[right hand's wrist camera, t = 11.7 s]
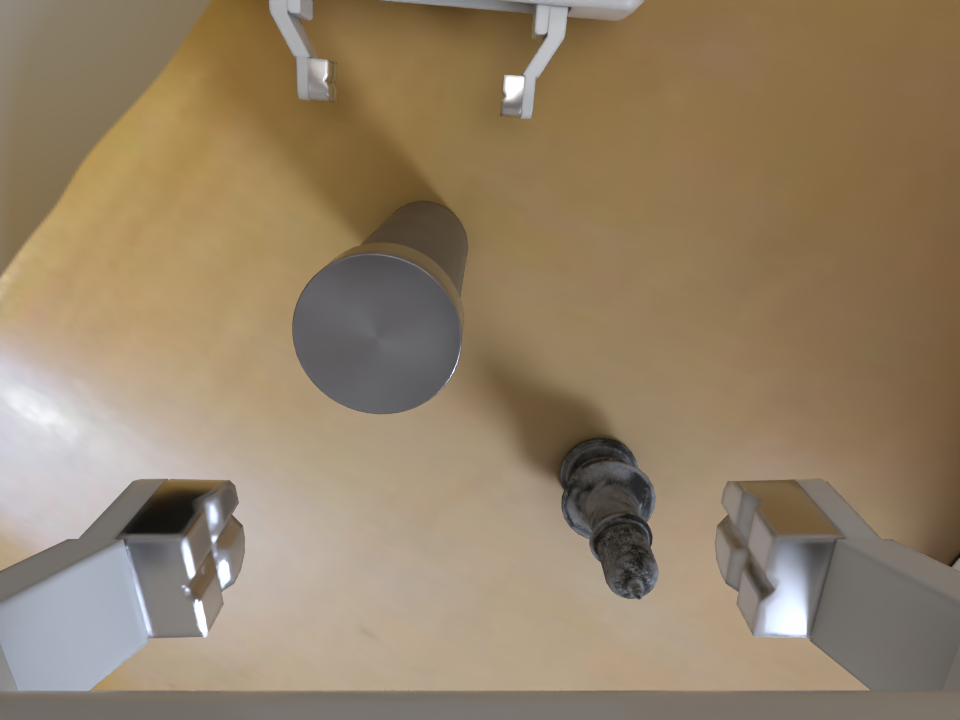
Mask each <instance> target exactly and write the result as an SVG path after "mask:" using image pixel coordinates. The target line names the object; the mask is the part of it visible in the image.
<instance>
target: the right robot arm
mask: <svg viewBox="0 0 960 720" xmlns="http://www.w3.org/2000/svg"><path fill="white" fill-rule="evenodd" d="M238 503H239V502H238V497H237V492H236V488H235V485H234V484H233V483H232V482H231V481H230V480H188V479H170V480H168V479H140V480H136V481H133V482H132V483H131V484H130V485H129V486H128V487H127V488H126V489H125V490H124V491H123V492H122V493H121V494H120V495H119V496H118V498H117V499H116V500H115V501H114V502H113V503H112V504H111V505H110V506H109V507H108V508H107V509H106V510H105V511H104V512H103V513H102V514H101V516H100V517H99V518H98V519H97V520H96V521H95V522H94V523H93V524H92V525H91V526H90V527H89V528H88V529H87V530H86V531H85V532H84V533H83V535H82V536H81V537H80V538H79V539H67V540H65V541H63V542H61V543H59V544H57V545H55V546H53V547H50V548H48V549H46V550H44V551H42V552H40V553H38V554H36V555H33V556H31V557H29V558H27V559H25V560H23V561H21V562H19V563H16V564H14V565H12V566H10V567H8V568H6V569H4V570H2V571H0V720H960V558H959V559H958V560H957V561H956V562H955V564H954V565H953V566H952V567H950V566H948V565H946V564H943V563H941V562H939V561H937V560H935V559H933V558H931V557H929V556H926V555H924V554H922V553H920V552H918V551H916V550H914V549H912V548H909V547H907V546H905V545H903V544H901V543H899V542H897V541H895V540H893V539H881V538H880V537H879V536H878V535H877V533H876V532H875V531H874V530H873V529H872V528H871V527H870V526H869V525H868V524H867V523H866V522H865V521H864V520H863V519H862V518H861V517H860V515H859V514H858V513H857V512H856V511H855V510H854V509H853V508H852V507H851V506H850V505H849V504H848V503H847V502H846V501H845V500H844V498H843V497H842V496H841V495H840V494H839V493H838V492H837V491H836V490H835V489H834V488H833V487H832V486H831V485H830V484H829V483H828V482H827V481H824V480H822V479H793V480H766V481H728V482H727V484H726V486H725V488H724V491H723V496H722V501H721V503H722V505H723V507H724V508H725V510H726V512H727V513H728V515H727V516H726V517H725V518H724V519H723V520H722V521H721V522H720V523H719V524H718V525H717V531H716V539H715V549H716V560H717V563H718V567H719V570H720V573H721V575H722V577H723V579H724V581H725V583H726V584H728V585H729V586H730V587H732V588H733V589H735V590H736V591H738V592H739V593H738V598H737V606H738V608H739V610H740V612H741V613H742V615H743V617H744V619H745V621H746V623H747V625H748V627H749V629H750V630H751V632H752V634H753V636H754V637H783V638H811V639H810V641H811V642H812V643H813V644H815V645H816V646H817V647H818V648H820V649H821V650H822V651H823V652H824V653H826V654H827V655H828V656H829V657H831V658H832V659H833V660H834V661H836V662H837V663H838V664H839V665H840V666H842V667H843V668H844V669H845V670H847V671H848V672H849V673H850V674H852V675H853V676H854V677H855V678H857V679H858V680H859V681H860V682H861V683H863V684H864V685H865V686H866V687H868V688H869V689H870V690H871V691H89V690H90V689H91V688H93V687H94V686H95V685H96V684H97V683H99V682H100V681H101V680H102V679H104V678H105V677H106V676H107V675H109V674H110V673H111V672H112V671H114V670H115V669H116V668H117V667H118V666H120V665H121V664H122V663H123V662H125V661H126V660H127V659H128V658H130V657H131V656H132V655H133V654H135V653H136V652H137V651H138V650H139V649H141V648H142V647H143V646H144V645H146V644H147V643H148V642H149V641H150V639H149V638H176V637H206V636H207V634H208V632H209V631H210V629H211V627H212V625H213V623H214V621H215V619H216V617H217V615H218V613H219V612H220V610H221V608H222V606H223V598H222V593H221V592H222V591H224V590H225V589H227V588H228V587H229V586H231V585H232V584H234V583H235V581H236V579H237V577H238V575H239V572H240V570H241V567H242V562H243V557H244V553H245V537H244V531H243V525H242V524H241V523H240V522H239V521H238V520H237V519H236V518H235V517H234V516H233V515H232V513H233V512H234V510H235V508H236V507H237V505H238Z"/></svg>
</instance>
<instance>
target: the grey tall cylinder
mask: <svg viewBox="0 0 960 720" xmlns="http://www.w3.org/2000/svg"><path fill="white" fill-rule="evenodd" d="M381 242H385V243H395V244H400V245H404V246H407V247H410V248H412V249H415V250H417V251H419V252H421V253H423V254H425V255H426V256H428V257H429V258H431V259H432V260H433V261H435V262H436V263H437V264H438V265H439V266H440V267H441V268H442V269H443V270H444V271H445V272H446V274H447V275H448V276H449V278H450V279H451V281H452V282H453V284H454V285H455V288H456V290H457V292H458V294H459V297H460V296H461V289H462V282H463V276H464V269H465V262H466V256H467V237H466V233H465V230H464V228H463V225H462V224H461V222H460V220H459V219H458V218H457V217H456V215H455V214H453V213H452V212H451V211H450V210H449V209H447V208H446V207H444V206H442V205H439V204H437V203H433V202H427V201H419V202H413V203H410V204H407V205H405V206H403V207H401V208H400V209H398V210H397V211H396V212H395V213H394V214H393V215H392V216H391V217H389V218H388V219H387V220H386V221H385V222H384V223H383V224H382V225H381V226H380V227H379V228H378V229H377V230H376V231H375V232H374V233H373V234H371V235H370V236H369V237H368V238H367V239H366V240H365V241H364V242H363V243H362V244H361V245H363V244H369V243H381Z"/></svg>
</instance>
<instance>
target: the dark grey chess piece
mask: <svg viewBox="0 0 960 720" xmlns="http://www.w3.org/2000/svg"><path fill="white" fill-rule="evenodd" d="M560 480H561V483H562V487H563V489H564V493H563V495H562V511H563V514H564V518H565V520H566V521H567V523H568V524H569V526H570V527H571V528H572V529H573V530H574V531H575V532H577V533H578V534H579V535H581V536H583V537H586V538H588V539H590V542H589V544H590V548H591V552H592V553H593V555H594V557H595V558H596V559H597V560H599V561H600V562H601V564H602V568H603V572H604V575H605V579H606V583H607V584H608V586H609V587H610V589H611V590H612V591H613V592H614V593H615V594H617V595H619V596H621V597H624V598H628V599H635V598H636V599H641V598H642V597H643V596H644V595H646V594H648V593H649V592H650V591H651V590H652V589H653V587H654V586H655V585H656V583H657V580H658V567H657V563H656V561H655V558H654V555H653V553H652V550H651V548H650V547H651V545H652V532H651V529H650V527H649V526H648V524H647V521H648V520H649V519H650V517H651V515H652V512H653V510H654V508H655V492H654V488H653V485H652V483H651V482H650V480H649V478H648V477H647V476H646V475H645V474H644V473H643V472H642V471H641V470H640V469H638V466H637V462H636V459H635V457H634V456H633V454H632V452H631V451H630V450H629V449H628V448H627V447H625V446H624V445H622V444H620V443H618V442H617V441H613V440H609V439H593V440H589V441H585V442H583V443H581V444H580V445H578V446H576V447H575V448H574V449H572V450H571V451H570V452H569V453H568V454H567V456H566V457H565V459H564V460H563V463H562V466H561V469H560Z"/></svg>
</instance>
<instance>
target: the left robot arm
mask: <svg viewBox="0 0 960 720" xmlns="http://www.w3.org/2000/svg"><path fill="white" fill-rule="evenodd" d="M381 1H392V2H404V3H415V4H426V5H438V6H449V7H461V8H472V9H483V10H495V11H506V12H518V13H529V14H533V22H532V34H531V38H532V39H533V40H538V41H541V40H542V39H543V43H542V44H541V46H540V47H539V49H538V51H537V52H536V54H535V55H534V57H533V58H532V60H531V61H530V63H529V64H528V66H527V68H526V69H525V71H524V72H523V74H522V75H521V76H515V75H504V77H503V87H502V93H503V95H504V97H505V98H504V99H503V100H502V102H501V112H500V116H501V117H510V118H521V119H531V117H532V111H533V102H534V92H535V82H536V79H537V78H538V77H539V76H540V74H541V73H542V71H543V70H544V68H545V67H546V65H547V64H548V62H549V61H550V59H551V58H552V56H553V54H554V53H555V51H556V50H557V48H558V47H559V45H560V44H561V42H562V41H563V39H564V38H565V31H566V22H567V17H575V18H586V19H598V20H609V21H619V20H622V19H624V18H626V17H627V16H628V15H630V14H631V13H633V12H634V11H635V10H636V9H637V8H638V7H639V6H640V5H641V4H642V3H643V2H644V1H645V0H381ZM269 12H270V13H271V15H272V17H273V19H274V21H275V23H276V25H277V26H278V28H279V30H280V32H281V34H282V36H283V38H284V39H285V41H286V43H287V45H288V47H289V49H290V51H291V53H292V54H293V56H295V57H296V68H297V93H298V97H299V99H300V100H308V101H321V102H336V99H337V88H336V86H335V85H334V82H335V80H336V79H337V63H335V62H332V61H330V60H325V59H319V58H318V56H317V54H316V52H315V50H314V48H313V46H312V44H311V41H310V39H309V37H308V35H307V33H306V31H305V29H304V27H303V25H302V23H301V21H300V19H302V20H307V21H311V20H312V19H313V0H269Z"/></svg>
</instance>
